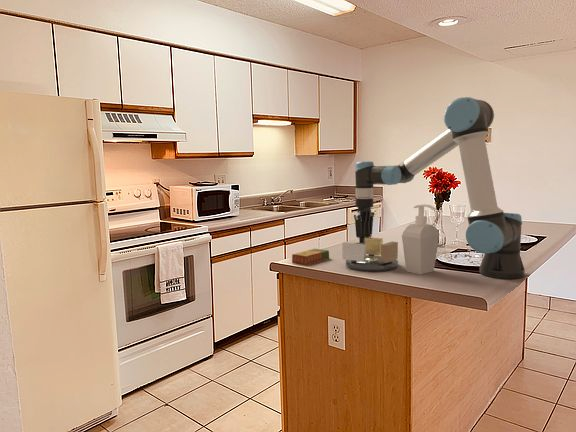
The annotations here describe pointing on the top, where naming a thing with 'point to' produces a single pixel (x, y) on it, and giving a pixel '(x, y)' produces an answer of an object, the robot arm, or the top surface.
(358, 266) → the dark grey plate
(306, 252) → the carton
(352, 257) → the knob
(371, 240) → the olive yellow block
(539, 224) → the top surface
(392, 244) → the tan rectangular block
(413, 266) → the soap bottle
